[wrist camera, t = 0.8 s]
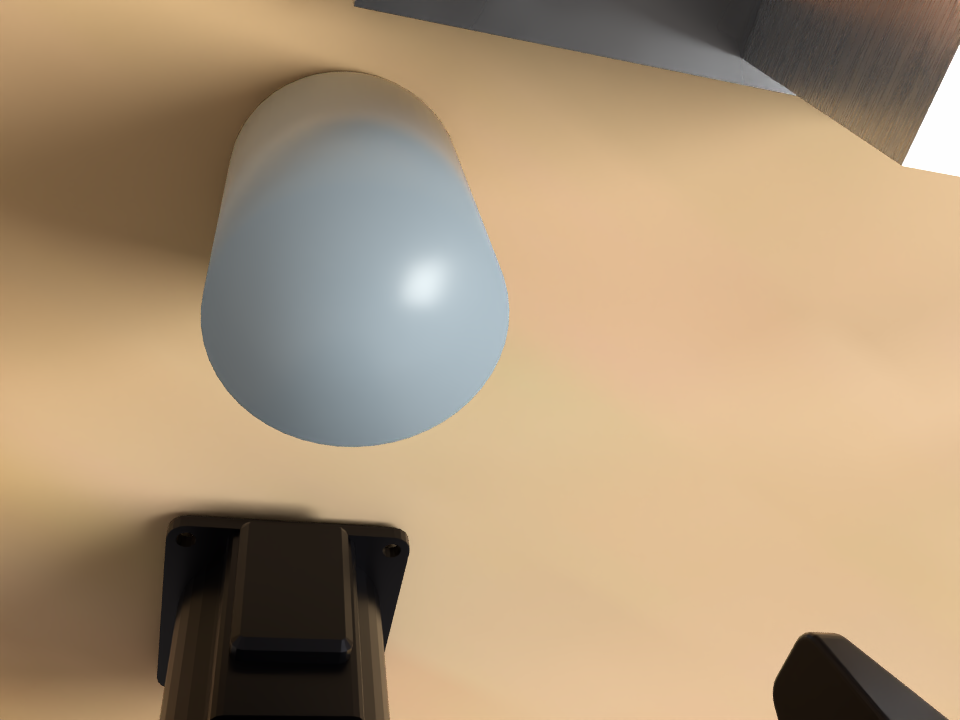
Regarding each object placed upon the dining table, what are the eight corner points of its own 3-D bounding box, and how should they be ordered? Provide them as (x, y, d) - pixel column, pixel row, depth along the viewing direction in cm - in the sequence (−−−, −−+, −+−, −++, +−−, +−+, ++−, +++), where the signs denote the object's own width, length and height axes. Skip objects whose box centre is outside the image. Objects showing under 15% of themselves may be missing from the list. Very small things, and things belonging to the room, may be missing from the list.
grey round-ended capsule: (435, 300, 22) (473, 457, 17) (219, 273, 21) (191, 434, 16) (481, 95, 19) (542, 207, 14) (239, 50, 18) (213, 157, 13)
